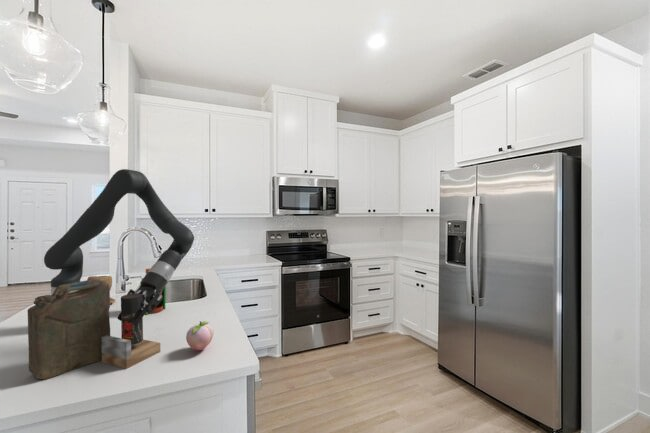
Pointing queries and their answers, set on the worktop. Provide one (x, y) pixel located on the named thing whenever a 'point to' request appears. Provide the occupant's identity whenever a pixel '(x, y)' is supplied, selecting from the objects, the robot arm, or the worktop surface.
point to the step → (126, 351)
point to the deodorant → (128, 311)
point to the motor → (162, 303)
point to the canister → (68, 327)
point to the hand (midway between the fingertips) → (127, 321)
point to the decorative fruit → (199, 335)
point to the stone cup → (106, 279)
